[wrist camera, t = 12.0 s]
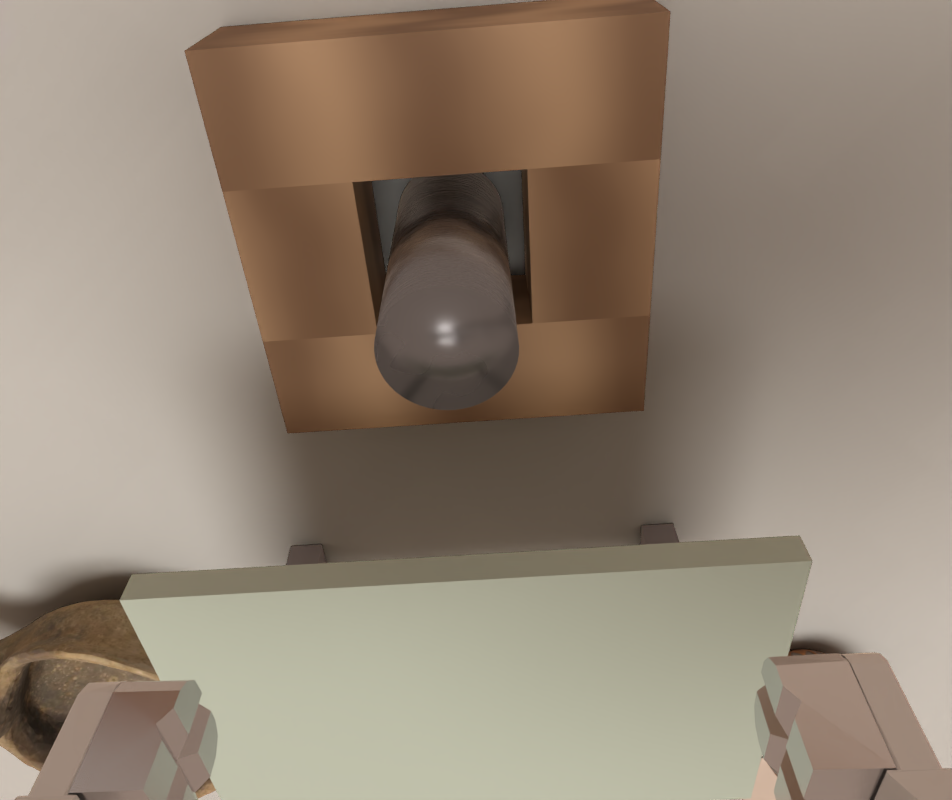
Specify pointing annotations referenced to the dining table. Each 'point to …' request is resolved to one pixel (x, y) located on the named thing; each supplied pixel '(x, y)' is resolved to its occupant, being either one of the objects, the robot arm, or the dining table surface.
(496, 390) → the peg
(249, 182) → the socket plate
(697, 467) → the dining table surface
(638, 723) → the pale green platform
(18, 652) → the brown rounded scoop
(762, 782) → the cream rounded piece
